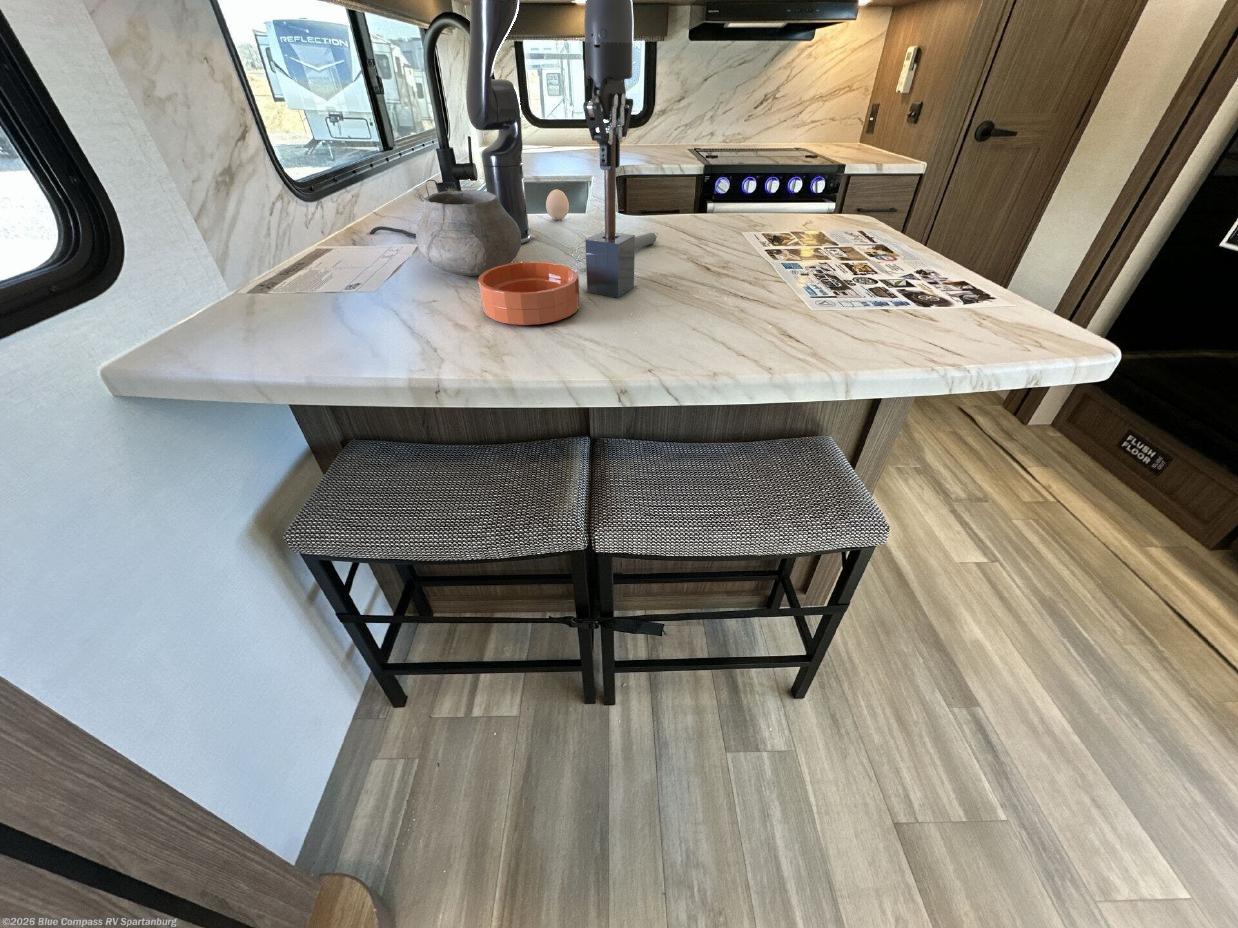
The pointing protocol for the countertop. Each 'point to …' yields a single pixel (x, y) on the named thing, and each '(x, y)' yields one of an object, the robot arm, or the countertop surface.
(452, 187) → the mug
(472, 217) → the clay pot
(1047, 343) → the countertop surface
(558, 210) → the egg
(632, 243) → the block
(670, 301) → the countertop surface
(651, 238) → the kitchen whisk
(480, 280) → the bowl
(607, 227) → the stirring stick
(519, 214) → the robot arm
